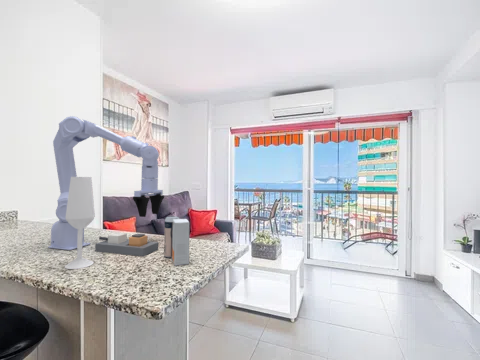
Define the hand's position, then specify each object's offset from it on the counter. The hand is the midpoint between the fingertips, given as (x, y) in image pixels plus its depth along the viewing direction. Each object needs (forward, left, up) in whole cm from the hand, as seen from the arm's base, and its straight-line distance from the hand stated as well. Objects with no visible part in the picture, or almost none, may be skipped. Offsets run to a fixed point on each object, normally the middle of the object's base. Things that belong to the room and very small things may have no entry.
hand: (149, 215), depth 90 cm
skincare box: (+21, -15, -11) cm, 28 cm away
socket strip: (-1, -10, -10) cm, 14 cm away
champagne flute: (-4, -25, -11) cm, 28 cm away
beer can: (+16, -11, -11) cm, 22 cm away
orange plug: (+3, -10, -10) cm, 15 cm away
